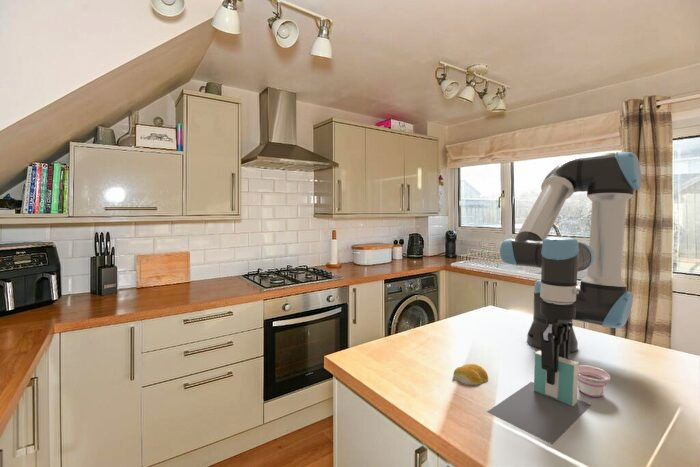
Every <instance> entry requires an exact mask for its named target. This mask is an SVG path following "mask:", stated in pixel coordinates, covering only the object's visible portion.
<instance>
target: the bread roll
mask: <svg viewBox="0 0 700 467" xmlns="http://www.w3.org/2000/svg"><path fill="white" fill-rule="evenodd" d="M453 378H454V380H455V381H458V382H461V383H462V384H464V385H467V386H478V385H479V386H480V385H482V384H483V383H486V382H488V381H489V375H488V372H487V371H486V370H485V368H483V367H482V366H481V365H478V364H474V363H468V364H463V365H461V366H459V367H456V368H455V369H454V370H453Z"/></svg>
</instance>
